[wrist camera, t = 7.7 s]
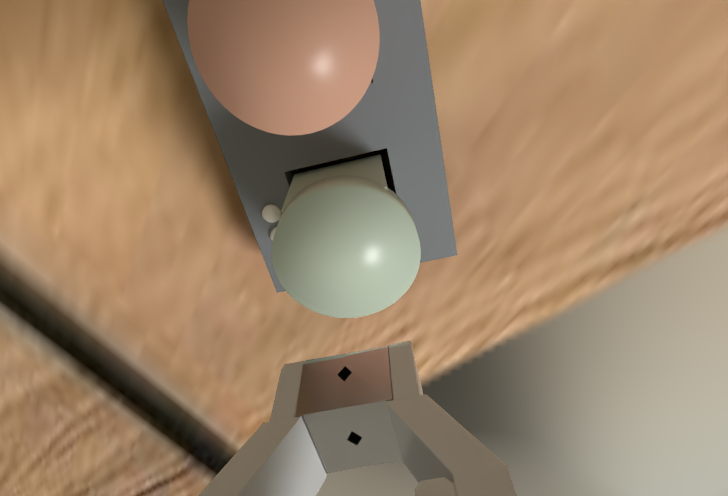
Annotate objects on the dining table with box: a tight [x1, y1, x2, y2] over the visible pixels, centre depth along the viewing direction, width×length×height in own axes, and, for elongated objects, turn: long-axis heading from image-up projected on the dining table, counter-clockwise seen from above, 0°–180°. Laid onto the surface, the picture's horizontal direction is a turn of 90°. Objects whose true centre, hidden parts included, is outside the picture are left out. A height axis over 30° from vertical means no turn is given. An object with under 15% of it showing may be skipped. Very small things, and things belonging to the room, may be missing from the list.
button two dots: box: [272, 154, 421, 318], centre depth 17 cm, size 5×5×5 cm
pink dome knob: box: [187, 0, 380, 136], centre depth 14 cm, size 5×5×5 cm
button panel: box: [163, 0, 457, 293], centre depth 17 cm, size 21×9×3 cm, turn 13°
